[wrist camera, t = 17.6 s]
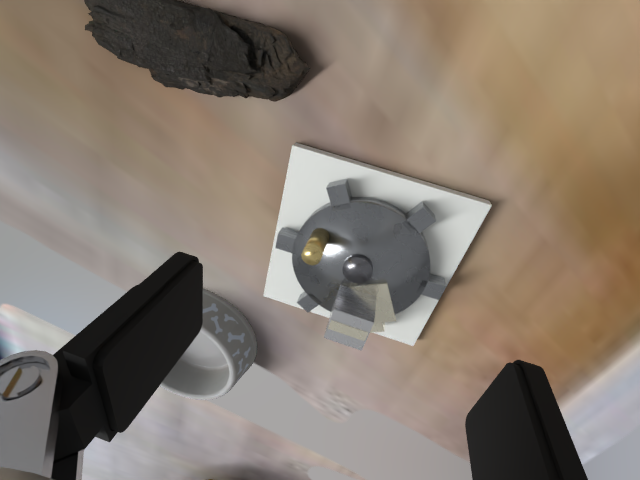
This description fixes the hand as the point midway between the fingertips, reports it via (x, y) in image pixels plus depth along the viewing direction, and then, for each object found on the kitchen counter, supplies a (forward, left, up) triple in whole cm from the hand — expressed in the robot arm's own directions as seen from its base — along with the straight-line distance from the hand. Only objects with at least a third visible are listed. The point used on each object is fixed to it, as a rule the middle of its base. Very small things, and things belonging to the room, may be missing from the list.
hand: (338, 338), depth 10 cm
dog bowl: (+17, +33, -25) cm, 44 cm away
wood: (+19, -4, -25) cm, 31 cm away
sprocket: (-2, +11, -23) cm, 25 cm away
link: (-2, +16, -21) cm, 26 cm away
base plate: (-2, +11, -24) cm, 27 cm away
